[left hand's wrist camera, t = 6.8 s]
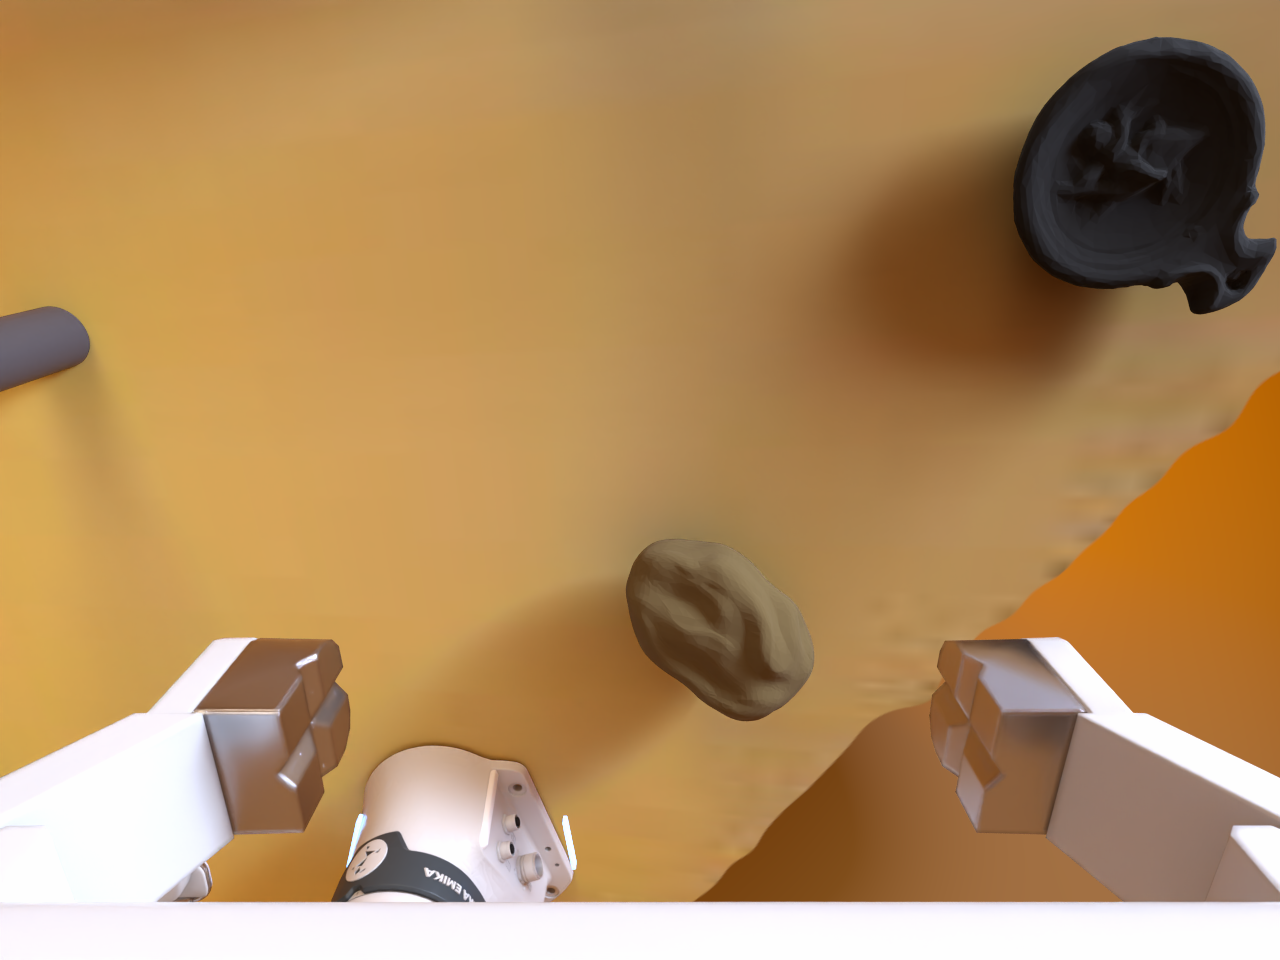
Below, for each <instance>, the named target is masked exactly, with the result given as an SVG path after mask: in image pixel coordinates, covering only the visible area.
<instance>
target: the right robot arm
mask: <svg viewBox="0 0 1280 960" xmlns="http://www.w3.org/2000/svg"><path fill="white" fill-rule="evenodd" d="M515 784H519V785H520V786H518V785H515ZM563 827H564V832H565V837H566V842H567V847H568V852H569V856H570V861H571V864H570V861H569V859H568V857H567V855H566V853H565V851H564V848H563V846H562V844H561V842H560V840H559V838H558V835H557V833H556V831H555V829H554V827H553V825H552V822H551V820H550V818H549V816H548V814H547V812H546V809H545V807H544V805H543V803H542V801H541V799H540V796H539V794H538V792H537V790H536V788H535V786H534V783H533V781H532V779H531V777H530V775H529V773H528V771H527V769H526V767H525V766H523V765H522V764H520V763H517V762H512V761H502V760H490V759H486V758H483V757H481V756H478V755H476V754H473V753H471V752H468V751H465V750H462V749H458V748H453V747H447V746H421V747H415V748H410V749H407V750H404V751H401V752H399V753H396V754H394V755H392V756H391V757H389V758H387V759H386V760H384V761H383V762H382V763H381V764H380V765H379V766H378V767H377V768H376V769H375V770H374V771H373V773H372V774H371V776H370V777H369V779H368V782H367V784H366V788H365V793H364V803H363V811H362V814H360V815H359V817H358V820H357V822H356V826H355V831H354V835H353V840H352V845H351V849H350V854H349V858H348V863H347V868H346V870H345V872H344V874H343V875H342V877H341V879H340V881H339V884H338V886H337V888H336V891H335V893H334V896H333V898H332V901H331V902H551V901H552V900H554V899H555V898H557V897H558V896H559V895H560V894H561V893H562V892H563V891H564V890H565V889H566V888H567V887H568V885H569V884H570V882H571V881H572V877H573V869H576V858H575V853H574V848H573V843H572V838H571V833H570V828H569V823H568V818H567V816H564V817H563ZM211 888H212V878H211V873H210V869H209V866H208V864H207V862H204V863H203V864H202V865H201V866H199V867H198V868H197V869H196V870H195V871H193V872H192V873H191V874H190V875H189V876H187V877H186V878H185V879H184V880H182V881H181V882H180V883H179V884H178V885H176V886H175V887H174V888H173V889H171V890H170V891H169V892H168V893H167V894H165V895H164V896H163V897H162V898H161V899H159V900H158V901H157V902H197V901H200V900H202V899H204V898H205V897H206V896H207V895H208V894H209V893H210V891H211Z"/></svg>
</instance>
